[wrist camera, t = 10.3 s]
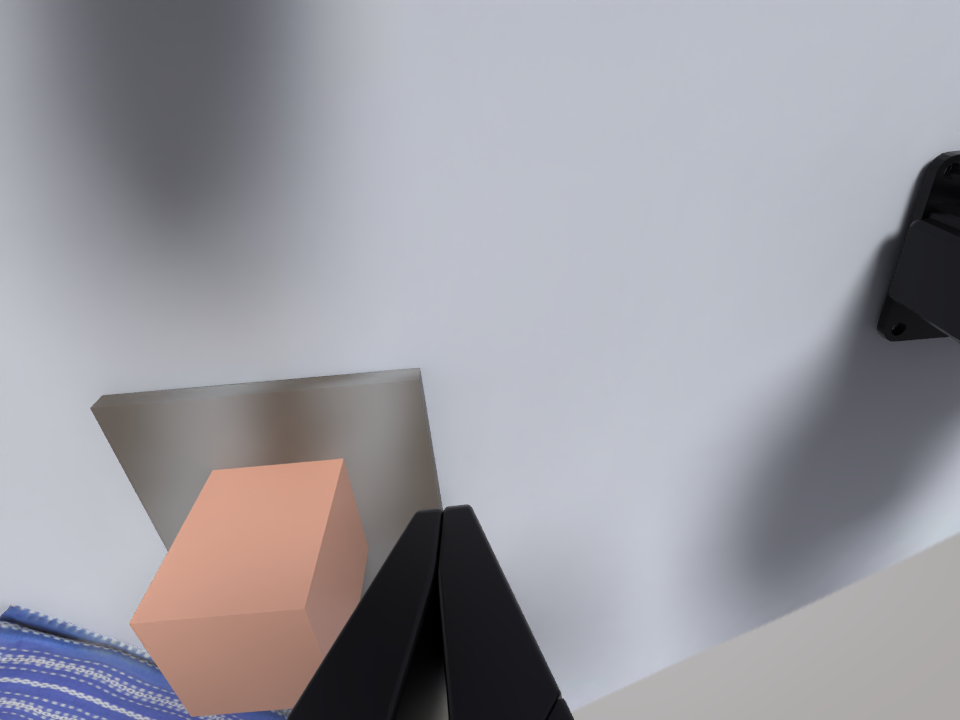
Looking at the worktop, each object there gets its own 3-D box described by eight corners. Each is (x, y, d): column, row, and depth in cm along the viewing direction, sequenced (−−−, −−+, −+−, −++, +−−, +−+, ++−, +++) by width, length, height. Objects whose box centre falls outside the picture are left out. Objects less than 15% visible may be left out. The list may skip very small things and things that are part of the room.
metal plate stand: (420, 368, 21) (406, 488, 16) (453, 578, 27) (452, 716, 22) (102, 395, 21) (-20, 523, 16) (207, 598, 27) (146, 739, 22)
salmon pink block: (343, 458, 22) (304, 608, 17) (368, 548, 25) (342, 704, 19) (212, 470, 22) (129, 623, 17) (251, 558, 25) (191, 716, 19)
